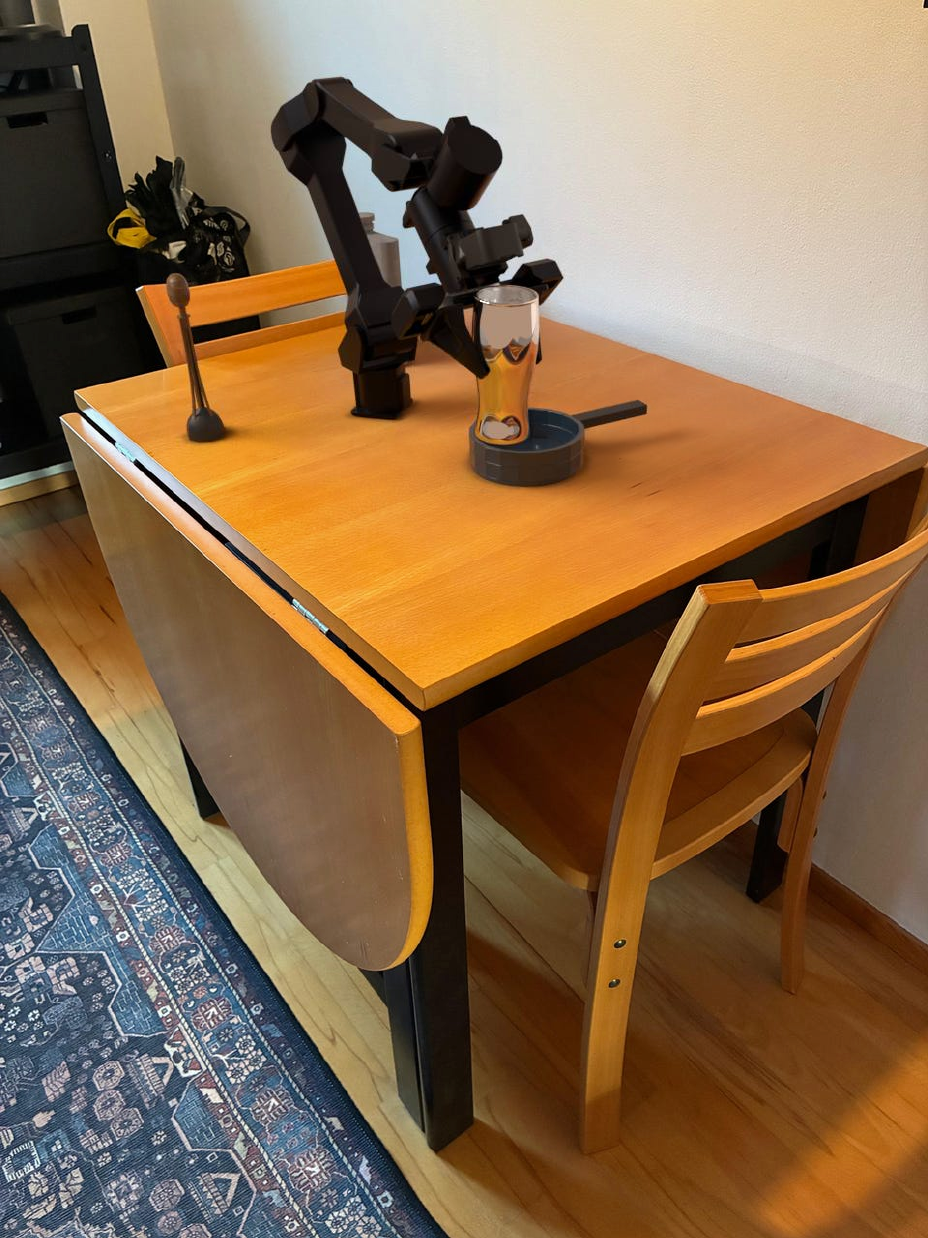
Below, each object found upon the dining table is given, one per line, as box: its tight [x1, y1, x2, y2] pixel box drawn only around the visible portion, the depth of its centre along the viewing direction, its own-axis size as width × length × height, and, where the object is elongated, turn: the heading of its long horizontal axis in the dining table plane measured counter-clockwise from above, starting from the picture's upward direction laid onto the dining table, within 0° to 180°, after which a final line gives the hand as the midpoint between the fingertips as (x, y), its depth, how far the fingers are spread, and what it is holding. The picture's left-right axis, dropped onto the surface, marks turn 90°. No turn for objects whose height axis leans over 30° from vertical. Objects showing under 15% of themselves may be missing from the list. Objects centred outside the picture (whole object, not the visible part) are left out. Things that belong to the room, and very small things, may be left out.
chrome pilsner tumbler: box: [470, 285, 540, 445], centre depth 101 cm, size 7×7×15 cm
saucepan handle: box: [570, 399, 648, 430], centre depth 115 cm, size 10×2×1 cm, turn 116°
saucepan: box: [468, 407, 586, 487], centre depth 112 cm, size 13×13×4 cm
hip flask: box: [345, 211, 408, 366], centre depth 142 cm, size 16×4×20 cm, turn 29°
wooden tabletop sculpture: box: [165, 272, 227, 443], centre depth 119 cm, size 6×5×20 cm
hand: (511, 369), depth 101 cm, fingers closed on chrome pilsner tumbler, 7 cm apart
